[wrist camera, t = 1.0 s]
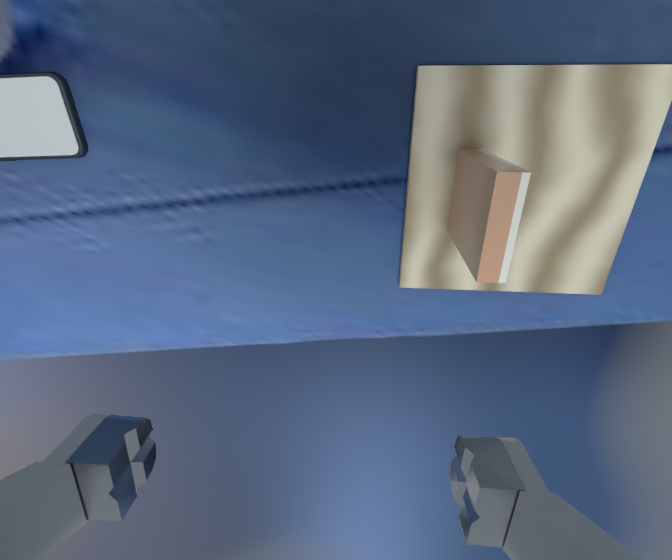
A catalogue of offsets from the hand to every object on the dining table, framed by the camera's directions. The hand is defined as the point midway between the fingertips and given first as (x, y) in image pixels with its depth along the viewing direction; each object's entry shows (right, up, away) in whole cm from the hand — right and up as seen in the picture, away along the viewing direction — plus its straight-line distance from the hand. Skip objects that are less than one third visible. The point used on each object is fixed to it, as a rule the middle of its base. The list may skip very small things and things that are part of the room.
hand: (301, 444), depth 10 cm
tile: (+15, +14, +31) cm, 37 cm away
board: (+21, +14, +31) cm, 40 cm away
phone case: (-36, +23, +33) cm, 54 cm away
